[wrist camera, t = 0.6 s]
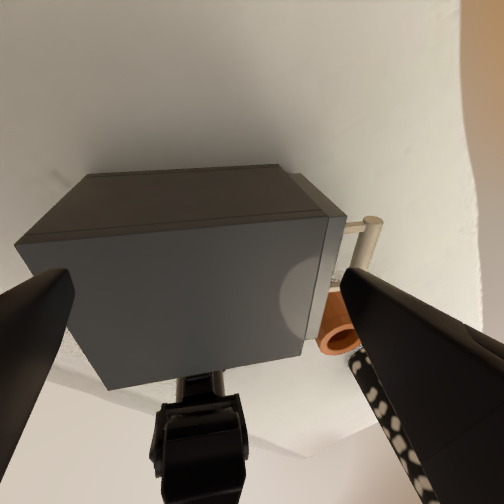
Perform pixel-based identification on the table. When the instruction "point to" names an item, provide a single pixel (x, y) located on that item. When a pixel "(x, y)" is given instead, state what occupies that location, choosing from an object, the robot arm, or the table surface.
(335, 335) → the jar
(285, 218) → the cabinet
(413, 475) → the spotted tube
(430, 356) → the robot arm
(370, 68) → the table surface
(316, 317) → the drawer
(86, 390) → the table surface
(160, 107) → the table surface
